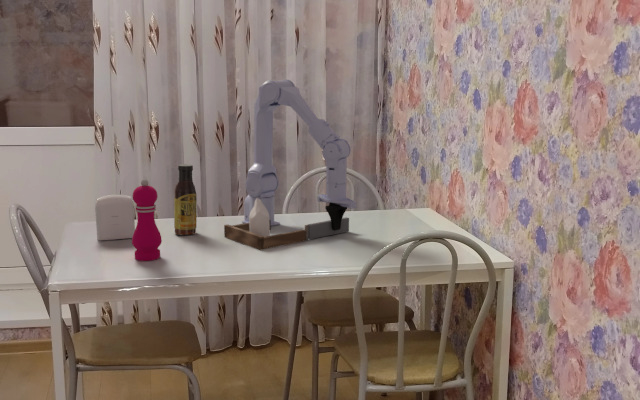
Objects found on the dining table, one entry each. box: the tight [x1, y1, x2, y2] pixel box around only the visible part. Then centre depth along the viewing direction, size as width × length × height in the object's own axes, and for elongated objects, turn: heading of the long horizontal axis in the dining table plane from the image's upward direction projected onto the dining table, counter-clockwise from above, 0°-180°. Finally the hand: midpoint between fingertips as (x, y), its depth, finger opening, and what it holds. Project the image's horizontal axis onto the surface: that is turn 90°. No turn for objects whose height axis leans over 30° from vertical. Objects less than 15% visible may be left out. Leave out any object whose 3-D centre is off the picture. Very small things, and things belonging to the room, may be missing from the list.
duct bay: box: [223, 220, 309, 251], centre depth 197 cm, size 17×17×4 cm
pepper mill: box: [131, 178, 163, 262], centre depth 175 cm, size 7×7×20 cm
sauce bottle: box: [173, 163, 198, 236], centre depth 200 cm, size 6×6×20 cm
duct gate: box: [307, 216, 350, 240], centre depth 201 cm, size 15×1×4 cm, turn 131°
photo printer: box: [94, 194, 136, 242], centre depth 195 cm, size 10×4×12 cm, turn 108°
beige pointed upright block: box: [249, 198, 271, 237], centre depth 194 cm, size 6×12×6 cm
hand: (336, 229), depth 201 cm, fingers closed
